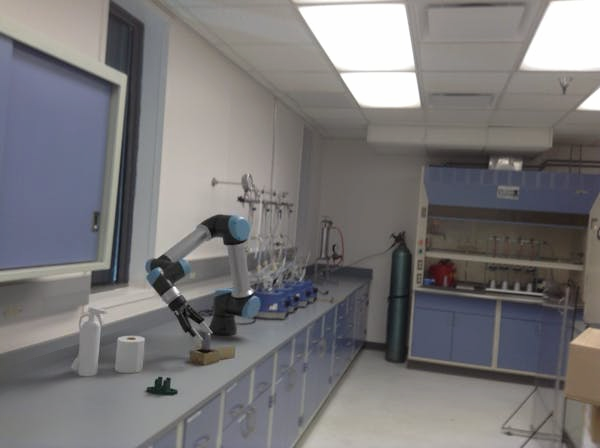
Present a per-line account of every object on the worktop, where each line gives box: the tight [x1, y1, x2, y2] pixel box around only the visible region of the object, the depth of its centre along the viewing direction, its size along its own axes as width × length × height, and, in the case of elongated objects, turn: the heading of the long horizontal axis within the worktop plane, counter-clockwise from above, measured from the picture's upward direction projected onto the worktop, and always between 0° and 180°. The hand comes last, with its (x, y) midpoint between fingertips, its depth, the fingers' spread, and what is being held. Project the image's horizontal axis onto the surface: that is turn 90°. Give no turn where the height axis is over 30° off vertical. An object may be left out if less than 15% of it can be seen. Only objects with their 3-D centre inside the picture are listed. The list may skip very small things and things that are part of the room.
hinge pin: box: [201, 331, 212, 353], centre depth 225 cm, size 4×4×12 cm
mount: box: [146, 376, 179, 396], centre depth 184 cm, size 11×4×5 cm, turn 85°
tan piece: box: [189, 342, 236, 366], centre depth 232 cm, size 20×18×4 cm
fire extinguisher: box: [70, 306, 109, 377], centre depth 196 cm, size 7×12×25 cm, turn 77°
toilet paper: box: [114, 335, 146, 374], centre depth 205 cm, size 10×10×12 cm
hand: (205, 338), depth 224 cm, fingers open, 13 cm apart
